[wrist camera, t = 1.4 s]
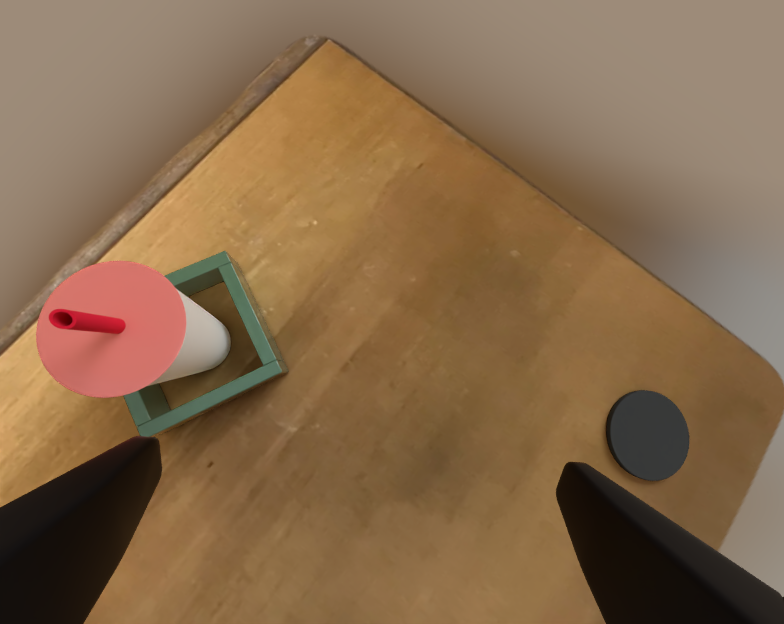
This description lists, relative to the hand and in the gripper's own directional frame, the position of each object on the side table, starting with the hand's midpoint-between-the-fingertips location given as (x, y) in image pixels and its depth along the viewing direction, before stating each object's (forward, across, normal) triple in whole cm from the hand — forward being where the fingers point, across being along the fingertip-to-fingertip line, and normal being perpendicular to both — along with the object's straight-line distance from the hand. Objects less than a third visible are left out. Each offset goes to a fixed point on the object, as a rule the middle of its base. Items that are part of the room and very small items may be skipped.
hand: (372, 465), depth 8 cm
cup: (+15, +10, +5) cm, 19 cm away
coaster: (+13, -20, +8) cm, 26 cm away
